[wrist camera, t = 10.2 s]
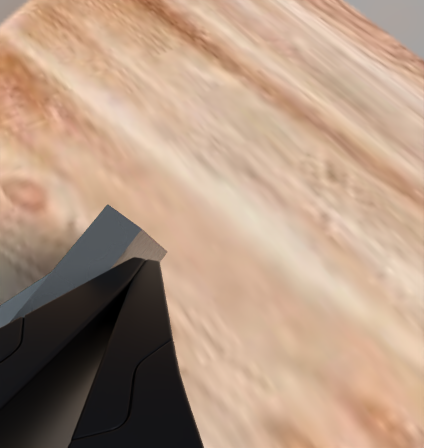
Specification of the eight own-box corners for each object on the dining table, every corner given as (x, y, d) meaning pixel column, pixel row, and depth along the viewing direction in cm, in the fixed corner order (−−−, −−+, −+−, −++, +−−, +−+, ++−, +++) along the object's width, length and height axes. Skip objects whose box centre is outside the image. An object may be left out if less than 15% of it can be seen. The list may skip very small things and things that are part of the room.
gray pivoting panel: (-4, 507, 12) (-281, 828, 5) (-49, 470, 12) (-377, 730, 5) (178, 259, 14) (162, 243, 8) (139, 231, 15) (88, 189, 8)
